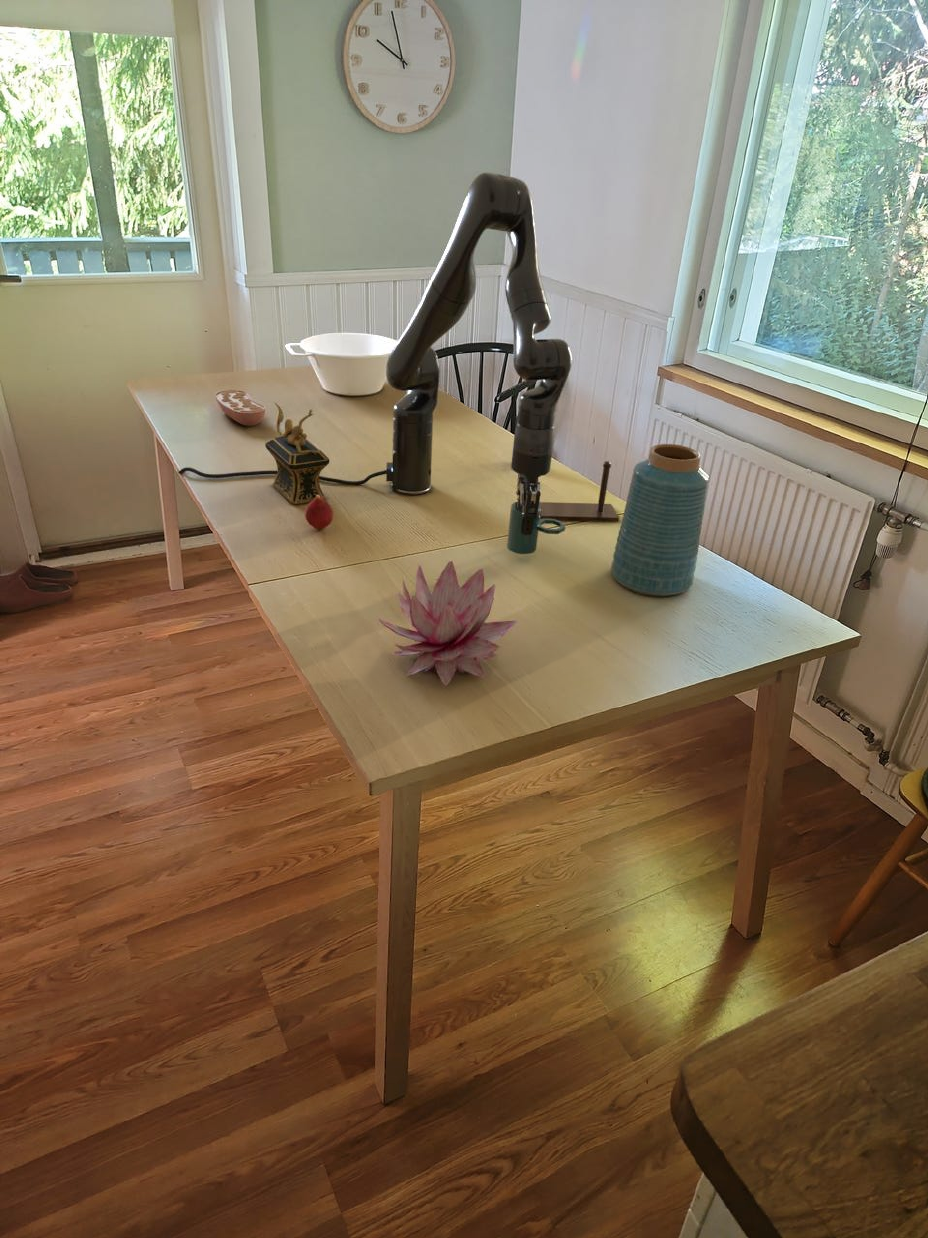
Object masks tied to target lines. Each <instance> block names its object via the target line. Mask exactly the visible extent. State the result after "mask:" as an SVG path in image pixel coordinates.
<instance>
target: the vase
mask: <svg viewBox="0 0 928 1238" xmlns="http://www.w3.org/2000/svg"><path fill="white" fill-rule="evenodd" d="M700 463H701V453H700V452H698V451H697V449H694V448H692V447H689V446H686V445H681V444H674V443H660V444H655V445H653V446H652V447H651V448H650V451H649V454H648V458H646V459H643V460H641V461H639V462H638V463H636V464H634V468H633V473H632V477H631V482H630V485H629V489H628V494H627V498H626V502H625V506H624V511H623V514H622V519H621V525H620V527H619V531H618V536H617V538H616V543H615V547H614V553H613V556H612V560H611V563H610V564H611V565H610V573H611V575H612V577H613V579H615V581H616V582H618V583H619V584H620V585H621V586H623V587H624V588H626V589H627V590H629V591H632V592H634V593H637V594H640V595H644V596H650V597H671V596H676V595H679V594H682V593H684V592H686V591H687V590H689V589H690V588H691V587H692V586H693V583H694V580H695V579H694V578H695V573H696V567H697V566H696V565H697V561H698V555H699V547H700V538H701V532H702V525H703V519H704V513H705V508H706V501H707V493H708V487H709V482H710V476H709V473H708V472H707V471H706V470H705V469H703V468H702V467H701V466H700Z"/></svg>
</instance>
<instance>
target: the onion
mask: <svg viewBox="0 0 928 1238" xmlns="http://www.w3.org/2000/svg"><path fill="white" fill-rule="evenodd" d="M304 512H305V513H304V517H305V520H306V521H307V523H308V524H309V525H310V526H311V527H312V528H314V529H315V530H317V531H322V530H324V529H325V528H327V527H328V526H329V525H330V524H331V523H332V522H333V518H334V510H333V508H332V507H331V505H330V504H329V502H328V501H327V500H325V498H324V499H322V498H321V497H320V496H319V495H316V498H315V499H314V500H313V501H311V502H308V504H307V506H306V509H305V511H304Z"/></svg>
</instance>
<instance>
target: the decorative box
mask: <svg viewBox="0 0 928 1238" xmlns="http://www.w3.org/2000/svg"><path fill="white" fill-rule="evenodd" d="M274 404H275V406H276V407H277V409H278V415H277V419H276V424H275V425H276V431H277V433H278V434H277V435H279V436H275V437H272V438H271V439H269V440H268V441H266V442H265V444H264V447H265V449H266V450H267V451H268V452H269V454H270V455H271V456H272V457H273V458H274V461H275V463H276V469H277V470H276V471H277V474H276V476H275V478H274V481H273V483H272V486H273V488H275V489H276V490H277V492H279V493H280V494H281V495H282V496H283V497H284V498H285V499H286V500H287V501H288V502H290V503H291V504H294V505H299V504H306V503H310V502H311V501H313V500H314V499H315V498H316V495H319V496H320V497H321V498H322V499H324V500H325V498H326V496H325V494H324V492H323V490H322V488H321V486H320V480H319V476H320V475H321V472H322V471H323V470H324V469H325V468H326V467H327V466H328V465H329V464H330V458H329V457H328V455H326V454H325V453H324V452H323V451H322V450H321V449H320V448H319V447H318V446H316V445H315V444H314V443H312V442H311V441H310V440H309V439H307V438H308V436H307V434H306V433H304V429H303V428H302V425H303V423H304V422H305V421H306V420H307V419H308V418H310V417H312V416H314V413H313V409H309V411H308V415H306V416H303V417H302V418H301V419H300V420H299V422H298V423H297V425H294V426H293V420H292V419H291V418H287V419H286V420H285V422H284V416H285V414H284V411H283V409H282V408H281V406H280V405H278V403H276V402H274ZM282 422H284V433H282V432H281V423H282Z"/></svg>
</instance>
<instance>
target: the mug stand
mask: <svg viewBox="0 0 928 1238" xmlns="http://www.w3.org/2000/svg"><path fill="white" fill-rule="evenodd" d="M602 467H603V469H602V476H601V483H600V488H599V489H600V490H599V496H598V502H597V503H594V502H593V503H592V502H590V503H589V502H552V501H551V502H550V501H539V506H540V507H541V514H540V520H541V519H556V520H558V521H568V522H569V521H571V522H572V521H575V522H613V523H614V522H615V523H618V522H619V520H620V517H619V514H618V513H617V512H616V510H615V508H614V507H613V504H612V503H606V495H607V489H608V483H609V482H608V481H609V476H610V470H611V468H612V463H611V462H610V461H608V460H606V461H604V462H603V463H602Z"/></svg>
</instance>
